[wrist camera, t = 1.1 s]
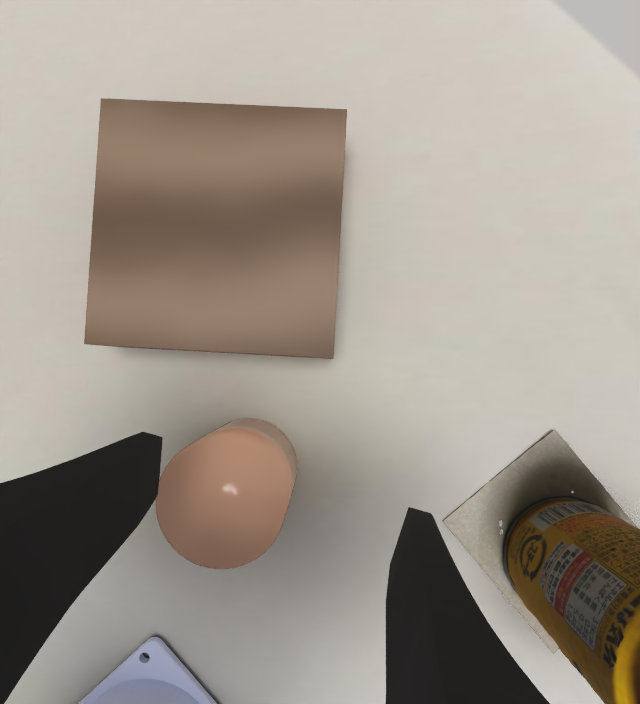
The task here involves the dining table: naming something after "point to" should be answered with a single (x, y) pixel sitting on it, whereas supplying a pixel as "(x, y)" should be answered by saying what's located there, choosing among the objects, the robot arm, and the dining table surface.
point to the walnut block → (216, 228)
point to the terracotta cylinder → (227, 494)
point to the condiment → (563, 562)
